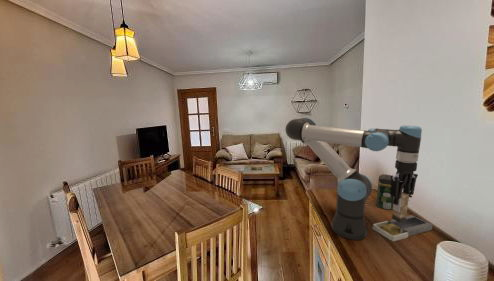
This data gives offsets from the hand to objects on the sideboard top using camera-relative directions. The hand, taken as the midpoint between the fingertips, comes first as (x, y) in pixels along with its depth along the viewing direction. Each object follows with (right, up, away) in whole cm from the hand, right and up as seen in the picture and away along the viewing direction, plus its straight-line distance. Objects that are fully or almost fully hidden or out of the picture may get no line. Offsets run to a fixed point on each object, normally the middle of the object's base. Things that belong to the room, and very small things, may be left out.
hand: (399, 210), depth 92 cm
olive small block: (-3, -10, 0) cm, 11 cm away
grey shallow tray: (+7, -10, +3) cm, 13 cm away
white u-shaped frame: (-5, -11, 0) cm, 12 cm away
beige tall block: (0, -5, +1) cm, 5 cm away
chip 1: (-6, -11, -1) cm, 12 cm away
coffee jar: (+10, -7, +25) cm, 28 cm away
